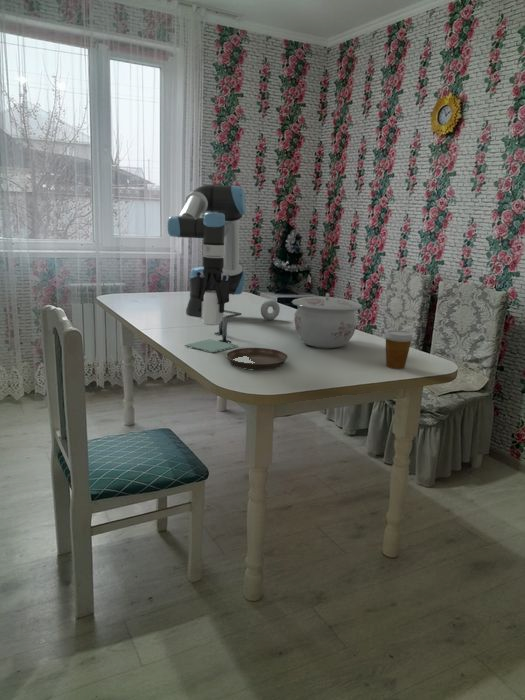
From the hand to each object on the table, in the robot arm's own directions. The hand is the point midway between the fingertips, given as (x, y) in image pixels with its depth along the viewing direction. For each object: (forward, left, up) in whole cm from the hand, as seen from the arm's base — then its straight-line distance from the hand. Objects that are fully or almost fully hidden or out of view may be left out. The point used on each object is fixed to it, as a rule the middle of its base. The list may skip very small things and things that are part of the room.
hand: (211, 319), depth 199 cm
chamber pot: (+29, +35, -11) cm, 47 cm away
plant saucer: (+26, -7, -11) cm, 29 cm away
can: (0, 0, -2) cm, 2 cm away
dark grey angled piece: (-6, +15, -10) cm, 19 cm away
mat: (0, 0, -10) cm, 10 cm away
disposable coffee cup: (+63, +24, -11) cm, 68 cm away
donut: (-15, +61, -11) cm, 64 cm away
